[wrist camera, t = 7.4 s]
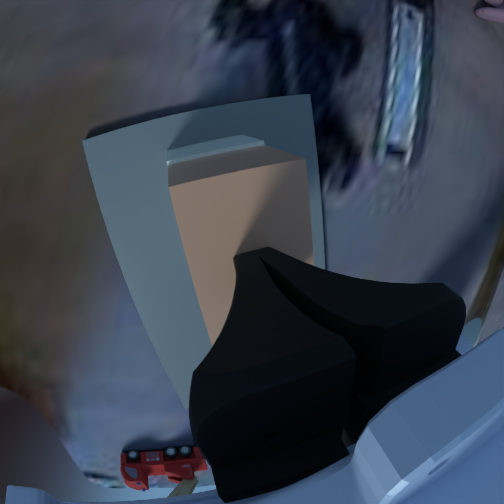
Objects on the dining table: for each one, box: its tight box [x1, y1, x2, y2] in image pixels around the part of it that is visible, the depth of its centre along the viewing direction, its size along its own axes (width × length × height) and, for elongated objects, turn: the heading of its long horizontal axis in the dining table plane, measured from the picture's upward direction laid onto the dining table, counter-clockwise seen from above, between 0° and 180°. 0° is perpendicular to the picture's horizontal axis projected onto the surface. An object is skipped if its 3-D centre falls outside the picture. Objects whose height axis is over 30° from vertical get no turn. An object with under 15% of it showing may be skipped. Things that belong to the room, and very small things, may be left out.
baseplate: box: [82, 94, 325, 409], centre depth 22 cm, size 14×24×1 cm, turn 9°
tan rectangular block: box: [168, 145, 314, 346], centre depth 13 cm, size 4×8×4 cm, turn 8°
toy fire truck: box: [120, 445, 207, 497], centre depth 26 cm, size 3×14×10 cm, turn 90°
